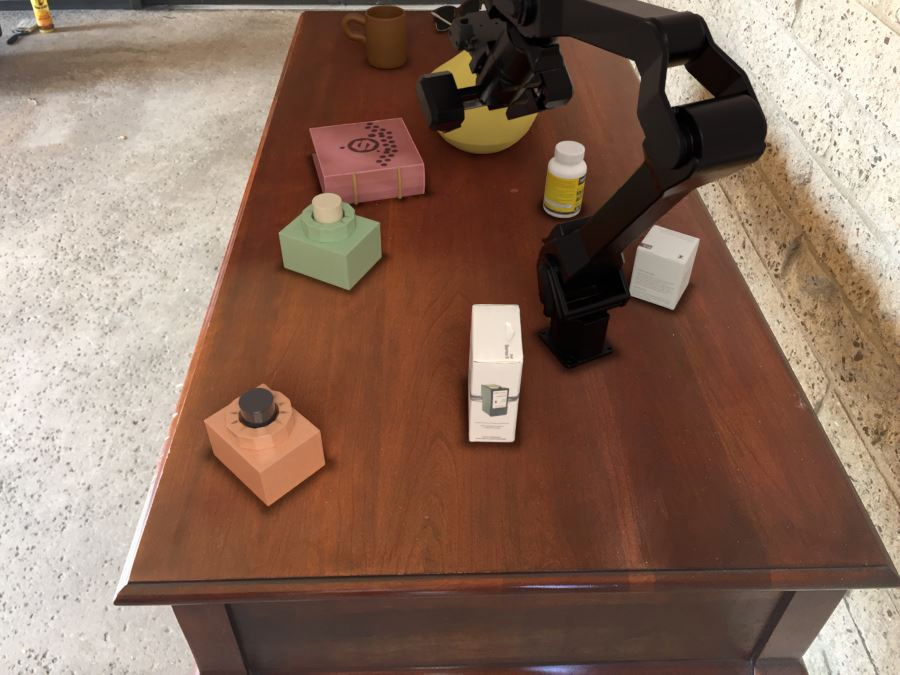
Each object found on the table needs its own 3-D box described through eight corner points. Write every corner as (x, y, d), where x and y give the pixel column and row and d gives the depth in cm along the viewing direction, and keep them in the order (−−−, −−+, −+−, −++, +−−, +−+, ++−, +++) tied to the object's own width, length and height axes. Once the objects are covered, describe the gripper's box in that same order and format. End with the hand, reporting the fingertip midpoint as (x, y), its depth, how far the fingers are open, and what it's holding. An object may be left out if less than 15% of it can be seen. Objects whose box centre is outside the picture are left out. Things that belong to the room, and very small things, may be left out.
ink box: (466, 382, 86) (470, 301, 78) (511, 383, 86) (519, 302, 78) (467, 443, 80) (471, 360, 72) (515, 443, 80) (525, 361, 72)
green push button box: (382, 257, 103) (379, 208, 98) (349, 290, 98) (344, 241, 92) (318, 236, 106) (313, 188, 101) (283, 267, 101) (276, 219, 96)
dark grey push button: (283, 415, 73) (280, 399, 72) (255, 433, 72) (251, 418, 70) (263, 397, 75) (259, 382, 74) (235, 415, 73) (231, 400, 72)
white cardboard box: (688, 285, 99) (701, 237, 94) (673, 311, 95) (686, 263, 90) (643, 270, 102) (653, 222, 97) (626, 295, 98) (636, 247, 93)
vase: (411, 159, 122) (408, 37, 109) (439, 107, 135) (440, -7, 122) (526, 175, 119) (538, 51, 106) (544, 120, 132) (556, 4, 119)
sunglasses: (481, 18, 165) (483, -6, 162) (533, 46, 157) (536, 22, 154) (430, 33, 159) (431, 9, 155) (481, 64, 151) (484, 39, 147)
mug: (342, 70, 145) (338, 19, 139) (345, 54, 151) (341, 4, 144) (407, 70, 146) (405, 19, 139) (407, 54, 151) (406, 4, 145)
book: (327, 210, 111) (324, 179, 107) (312, 157, 122) (309, 128, 118) (425, 196, 114) (425, 166, 110) (402, 146, 125) (401, 117, 121)
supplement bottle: (579, 221, 110) (588, 159, 103) (540, 216, 110) (547, 155, 104) (582, 201, 114) (591, 140, 107) (545, 196, 114) (551, 135, 108)
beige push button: (348, 213, 98) (347, 197, 96) (332, 228, 95) (330, 211, 94) (324, 206, 99) (322, 190, 97) (308, 220, 96) (306, 203, 95)
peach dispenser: (325, 464, 77) (318, 417, 73) (268, 506, 74) (256, 460, 69) (270, 417, 82) (260, 370, 77) (213, 454, 78) (199, 407, 73)
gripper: (566, -20, 89) (519, 55, 104) (415, 2, 83) (388, 78, 98) (599, 68, 88) (547, 131, 102) (448, 96, 82) (415, 159, 96)
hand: (475, 123), depth 100 cm, fingers open, 9 cm apart
